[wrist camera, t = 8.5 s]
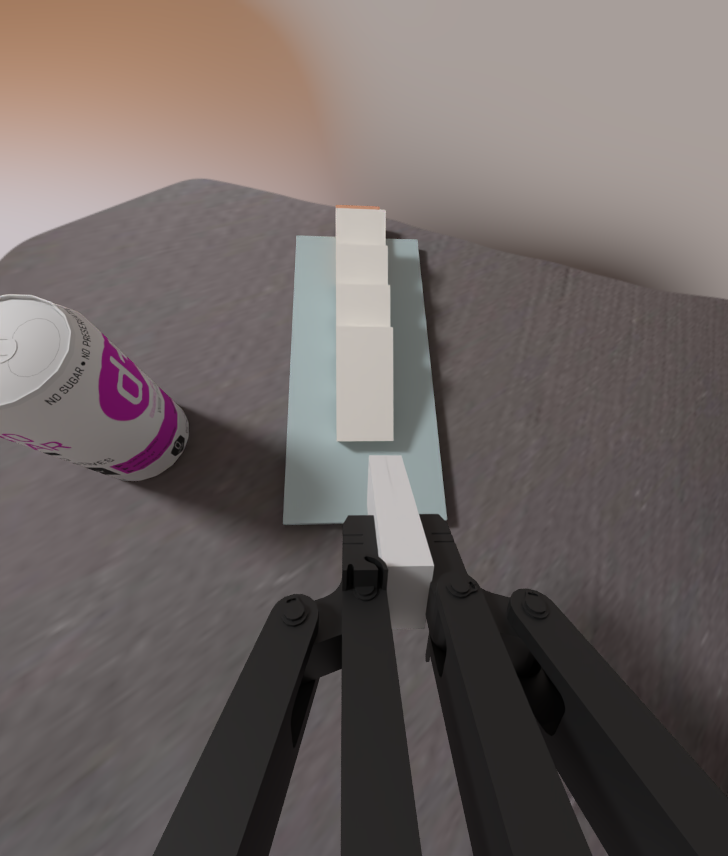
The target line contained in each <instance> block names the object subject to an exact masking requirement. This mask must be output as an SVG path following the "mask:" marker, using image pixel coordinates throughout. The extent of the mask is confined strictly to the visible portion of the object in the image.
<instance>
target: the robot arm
mask: <svg viewBox="0 0 728 856" xmlns="http://www.w3.org/2000/svg"><path fill="white" fill-rule="evenodd" d="M367 511H368V515H348V516H347V518H346V520H345V521H344V523H343V558H342V581H341V583H340V585H339V587H338V588H337V589H336V591H334V592H333V593H332V594H330V595H328V596H326V597H324V598H321V599H318V600H315V601H313V600H312V599H311V598H310V597H308V596H305V595H303V594H293V595H290V596H287V597H284V598H283V599H281V600H280V601H278V602H277V603H276V605H275V606H274V607H273V609H272V610H271V612H270V615H269V617H268V619H267V621H266V623H265V625H264V627H263V629H262V631H261V633H260V635H259V637H258V639H257V641H256V643H255V645H254V648H253V650H252V652H251V654H250V656H249V658H248V660H247V662H246V664H245V666H244V668H243V670H242V672H241V674H240V676H239V679H238V681H237V683H236V685H235V687H234V689H233V691H232V693H231V695H230V697H229V699H228V701H227V703H226V705H225V707H224V709H223V712H222V714H221V716H220V718H219V720H218V722H217V724H216V726H215V728H214V730H213V732H212V734H211V736H210V738H209V740H208V743H207V745H206V747H205V749H204V751H203V753H202V755H201V757H200V759H199V761H198V763H197V765H196V767H195V769H194V771H193V773H192V776H191V778H190V780H189V782H188V784H187V786H186V788H185V790H184V792H183V794H182V796H181V798H180V800H179V802H178V804H177V807H176V809H175V811H174V813H173V815H172V817H171V819H170V821H169V823H168V825H167V827H166V829H165V831H164V833H163V835H162V837H161V840H160V842H159V844H158V846H157V848H156V850H155V852H154V854H153V856H269V852H270V849H271V845H272V842H273V838H274V835H275V831H276V828H277V824H278V821H279V817H280V814H281V811H282V807H283V804H284V800H285V797H286V793H287V790H288V786H289V783H290V779H291V776H292V772H293V769H294V765H295V762H296V758H297V755H298V751H299V748H300V744H301V741H302V737H303V734H304V731H305V727H306V724H307V720H308V717H309V713H310V710H311V706H312V703H313V699H314V696H315V692H316V689H317V685H318V682H319V678H320V677H322V676H325V675H327V674H330V673H332V672H334V671H337V670H339V669H342V721H341V856H422V853H421V845H420V838H419V830H418V823H417V815H416V808H415V800H414V792H413V785H412V777H411V770H410V762H409V755H408V747H407V740H406V732H405V724H404V717H403V709H402V702H401V694H400V687H399V679H398V672H397V664H396V656H395V649H394V641H393V634H392V629H425V622H426V619H427V623H428V628H429V636H428V643H427V649H426V662H429V660H430V657H431V661H432V666H433V670H434V675H435V680H436V684H437V689H438V694H439V698H440V703H441V707H442V712H443V717H444V721H445V726H446V731H447V735H448V740H449V744H450V749H451V754H452V758H453V763H454V768H455V772H456V777H457V782H458V786H459V791H460V795H461V800H462V805H463V809H464V814H465V819H466V823H467V828H468V832H469V837H470V842H471V846H472V851H473V856H592V854H591V851H590V849H589V846H588V844H587V842H586V839H585V837H584V834H583V832H582V830H581V827H580V825H579V822H578V820H577V818H576V815H575V813H574V810H573V808H572V806H571V803H570V801H569V798H568V796H567V794H566V791H565V789H564V786H563V784H562V782H561V779H560V777H559V774H560V776H561V777H562V779H563V781H564V782H565V784H566V786H567V787H568V789H569V791H570V792H571V794H572V796H573V797H574V799H575V801H576V802H577V804H578V806H579V807H580V809H581V810H582V812H583V814H584V815H585V817H586V819H587V820H588V822H589V824H590V825H591V827H592V829H593V830H594V832H595V834H596V835H597V837H598V839H599V840H600V842H601V844H602V845H603V847H604V848H605V850H606V852H607V853H608V855H609V856H728V798H727V797H726V796H725V794H724V793H723V792H722V791H721V790H720V789H719V788H718V787H717V785H716V784H715V783H714V782H713V781H712V780H711V779H710V778H709V776H708V775H707V774H706V773H705V772H704V771H703V770H702V769H701V768H700V766H699V765H698V764H697V763H696V762H695V761H694V760H693V759H692V757H691V756H690V755H689V754H688V753H687V752H686V751H685V750H684V748H683V747H682V746H681V745H680V744H679V743H678V742H677V741H676V739H675V738H674V737H673V736H672V735H671V734H670V733H669V732H668V731H667V729H666V728H665V727H664V726H663V725H662V724H661V723H660V722H659V720H658V719H657V718H656V717H655V716H654V715H653V714H652V713H651V711H650V710H649V709H648V708H647V707H646V706H645V705H644V704H643V702H642V701H641V700H640V699H639V698H638V697H637V696H636V695H635V693H634V692H633V691H632V690H631V689H630V688H629V687H628V686H627V685H626V683H625V682H624V681H623V680H622V679H621V678H620V677H619V676H618V674H617V673H616V672H615V671H614V670H613V669H612V668H611V667H610V665H609V664H608V663H607V662H606V661H605V660H604V659H603V658H602V656H601V655H600V654H599V653H598V652H597V651H596V650H595V649H594V648H593V646H592V645H591V644H590V643H589V642H588V641H587V640H586V639H585V637H584V636H583V635H582V634H581V633H580V632H579V631H578V630H577V628H576V627H575V626H574V625H573V624H572V623H571V622H570V621H569V619H568V618H567V617H566V616H565V615H564V614H563V613H562V612H561V611H560V609H559V608H558V607H557V606H556V605H555V604H554V603H553V602H552V601H551V600H550V599H549V598H548V597H546V596H545V595H543V594H541V593H539V592H538V591H535V590H531V589H518V590H517V591H515V592H513V594H512V595H511V597H510V598H509V597H506V596H502V595H498V594H494V593H491V592H488V591H485V590H484V589H482V588H480V586H479V585H478V583H477V582H476V581H475V580H474V579H473V578H472V577H470V576H469V575H468V574H467V572H466V569H465V567H464V564H463V562H462V559H461V557H460V554H459V552H458V549H457V547H456V544H455V543H454V539H453V536H452V535H451V531H450V529H449V526H448V524H447V522H446V521H445V520H444V519H443V518H442V517H441V516H440V515H439V514H419V513H418V510H417V506H416V503H415V499H414V496H413V493H412V489H411V486H410V483H409V479H408V476H407V473H406V469H405V466H404V462H403V459H402V456H401V455H369V464H368V488H367ZM556 769H557V770H556ZM557 771H558V772H559V774H558V772H557Z"/></svg>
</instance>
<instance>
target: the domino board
mask: <svg viewBox="0 0 728 856" xmlns="http://www.w3.org/2000/svg"><path fill="white" fill-rule="evenodd" d="M386 246H388V285H390V327H393V439H394V441H337V434H336V237H323V236H297V239H296V260H295V281H294V302H293V322H292V343H291V364H290V385H289V406H288V427H287V448H286V468H285V489H284V510H283V524H284V525H311V524H343V523H344V521H345V520H346V518H347V516H348V515H368V511H367V488H368V464H369V455H401V456H402V459H403V462H404V466H405V469H406V473H407V476H408V479H409V483H410V486H411V489H412V493H413V496H414V499H415V503H416V506H417V510H418V513H419V514H439V515H440V516H441V517H442V518H443V519H444V520H445V521H446V520H447V514H446V505H445V495H444V486H443V477H442V467H441V458H440V448H439V439H438V430H437V420H436V411H435V402H434V392H433V383H432V373H431V364H430V355H429V345H428V336H427V327H426V317H425V308H424V298H423V289H422V280H421V270H420V261H419V251H418V242H417V240H411V239H386Z"/></svg>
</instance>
